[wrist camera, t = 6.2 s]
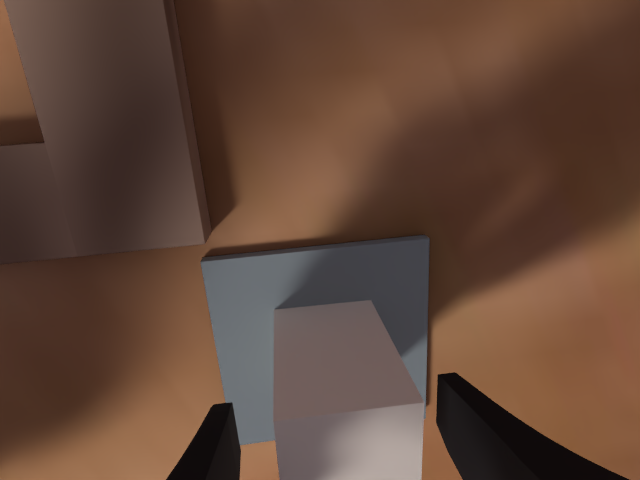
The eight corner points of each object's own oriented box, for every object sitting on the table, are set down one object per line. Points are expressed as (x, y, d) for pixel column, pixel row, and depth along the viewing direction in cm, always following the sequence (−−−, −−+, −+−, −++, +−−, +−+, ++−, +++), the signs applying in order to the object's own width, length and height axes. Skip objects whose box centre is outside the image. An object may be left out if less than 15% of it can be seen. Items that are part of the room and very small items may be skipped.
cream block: (282, 391, 17) (285, 532, 11) (273, 309, 15) (273, 421, 10) (371, 380, 17) (419, 511, 11) (370, 299, 16) (424, 402, 10)
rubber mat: (234, 437, 18) (233, 446, 17) (202, 257, 15) (200, 261, 14) (421, 410, 19) (425, 418, 18) (425, 234, 16) (429, 238, 15)
